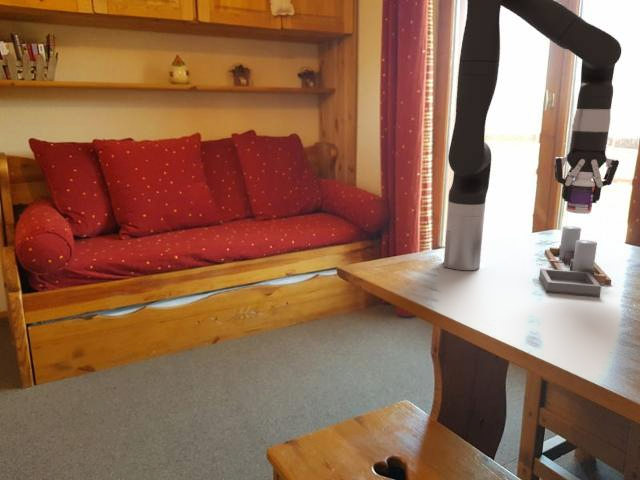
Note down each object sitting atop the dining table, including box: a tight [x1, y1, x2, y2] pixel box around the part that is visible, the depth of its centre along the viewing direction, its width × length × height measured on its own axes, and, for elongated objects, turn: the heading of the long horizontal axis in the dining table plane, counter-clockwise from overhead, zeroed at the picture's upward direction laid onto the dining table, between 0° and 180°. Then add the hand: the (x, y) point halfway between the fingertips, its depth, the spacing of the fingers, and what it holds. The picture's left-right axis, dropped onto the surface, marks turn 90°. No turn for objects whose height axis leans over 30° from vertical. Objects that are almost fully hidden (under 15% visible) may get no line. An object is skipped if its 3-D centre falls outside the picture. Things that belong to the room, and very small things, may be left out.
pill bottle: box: [565, 172, 595, 215], centre depth 122 cm, size 5×5×10 cm
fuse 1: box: [558, 225, 582, 261], centre depth 143 cm, size 5×5×9 cm
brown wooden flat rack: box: [544, 245, 612, 286], centre depth 136 cm, size 12×26×3 cm, turn 166°
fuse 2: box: [572, 239, 598, 271], centre depth 127 cm, size 5×5×9 cm
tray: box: [538, 268, 602, 298], centre depth 120 cm, size 11×11×2 cm
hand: (579, 201), depth 123 cm, fingers closed on pill bottle, 5 cm apart
